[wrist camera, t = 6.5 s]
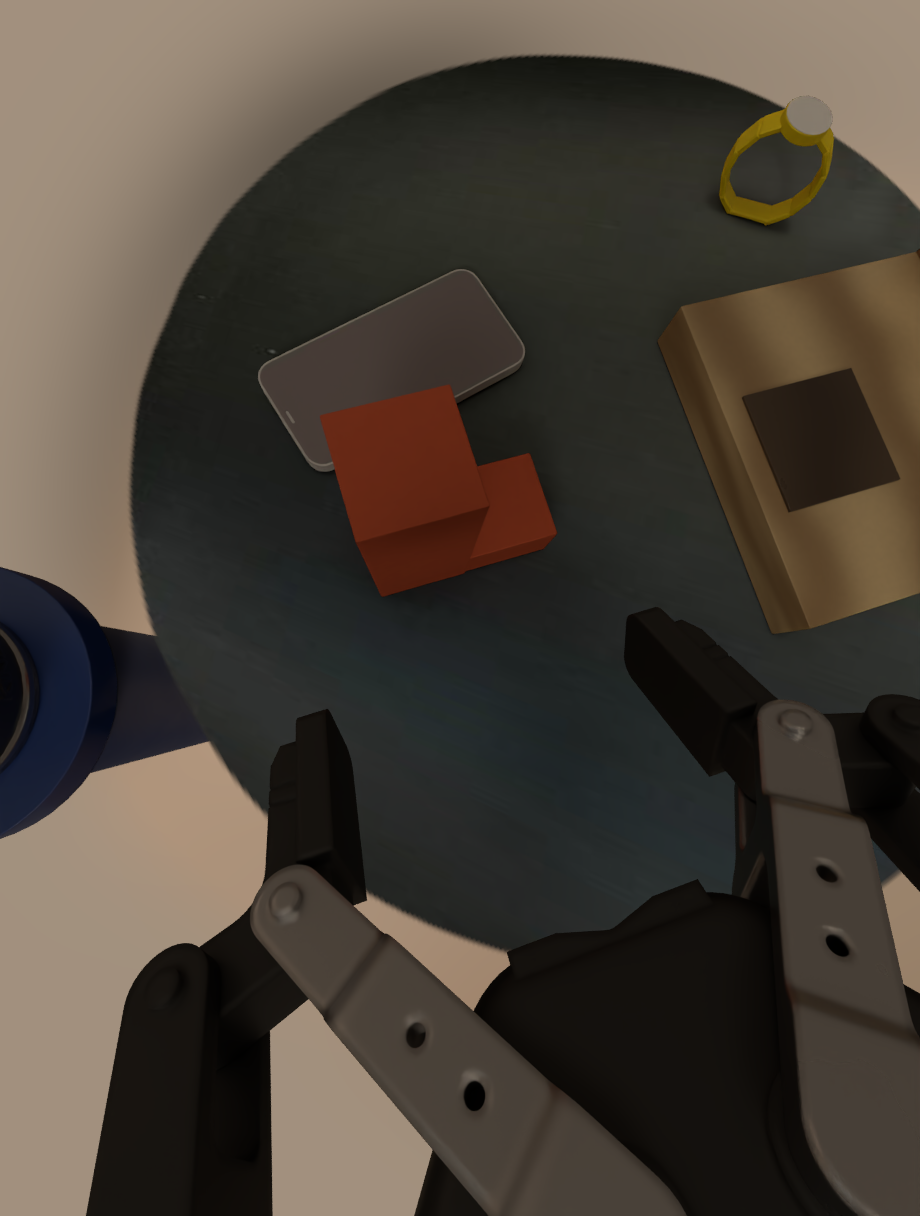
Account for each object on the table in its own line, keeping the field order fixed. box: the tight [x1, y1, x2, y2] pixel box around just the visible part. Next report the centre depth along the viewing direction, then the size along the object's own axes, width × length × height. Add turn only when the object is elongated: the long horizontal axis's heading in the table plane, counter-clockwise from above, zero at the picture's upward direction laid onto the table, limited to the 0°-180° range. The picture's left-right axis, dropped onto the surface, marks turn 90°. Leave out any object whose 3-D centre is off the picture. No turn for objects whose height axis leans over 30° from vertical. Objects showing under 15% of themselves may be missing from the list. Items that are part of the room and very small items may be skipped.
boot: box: [320, 384, 557, 597], centre depth 24 cm, size 10×5×11 cm, turn 107°
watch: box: [719, 96, 834, 225], centre depth 31 cm, size 6×3×6 cm, turn 72°
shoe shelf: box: [658, 249, 920, 634], centre depth 28 cm, size 18×20×7 cm
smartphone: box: [258, 269, 525, 472], centre depth 30 cm, size 7×1×15 cm
